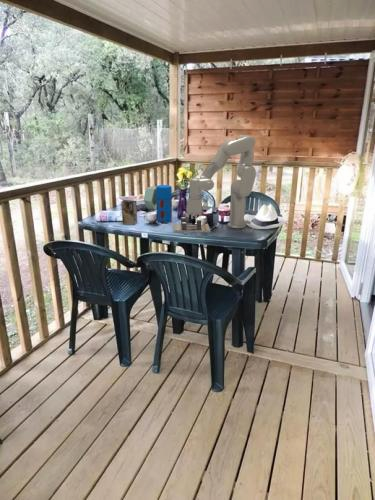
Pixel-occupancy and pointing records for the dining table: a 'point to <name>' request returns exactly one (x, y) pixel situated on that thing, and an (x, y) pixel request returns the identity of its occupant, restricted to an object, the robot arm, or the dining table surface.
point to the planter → (150, 198)
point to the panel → (190, 228)
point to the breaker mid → (198, 223)
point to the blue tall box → (164, 203)
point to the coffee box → (129, 212)
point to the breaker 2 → (184, 225)
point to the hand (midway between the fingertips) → (193, 224)
